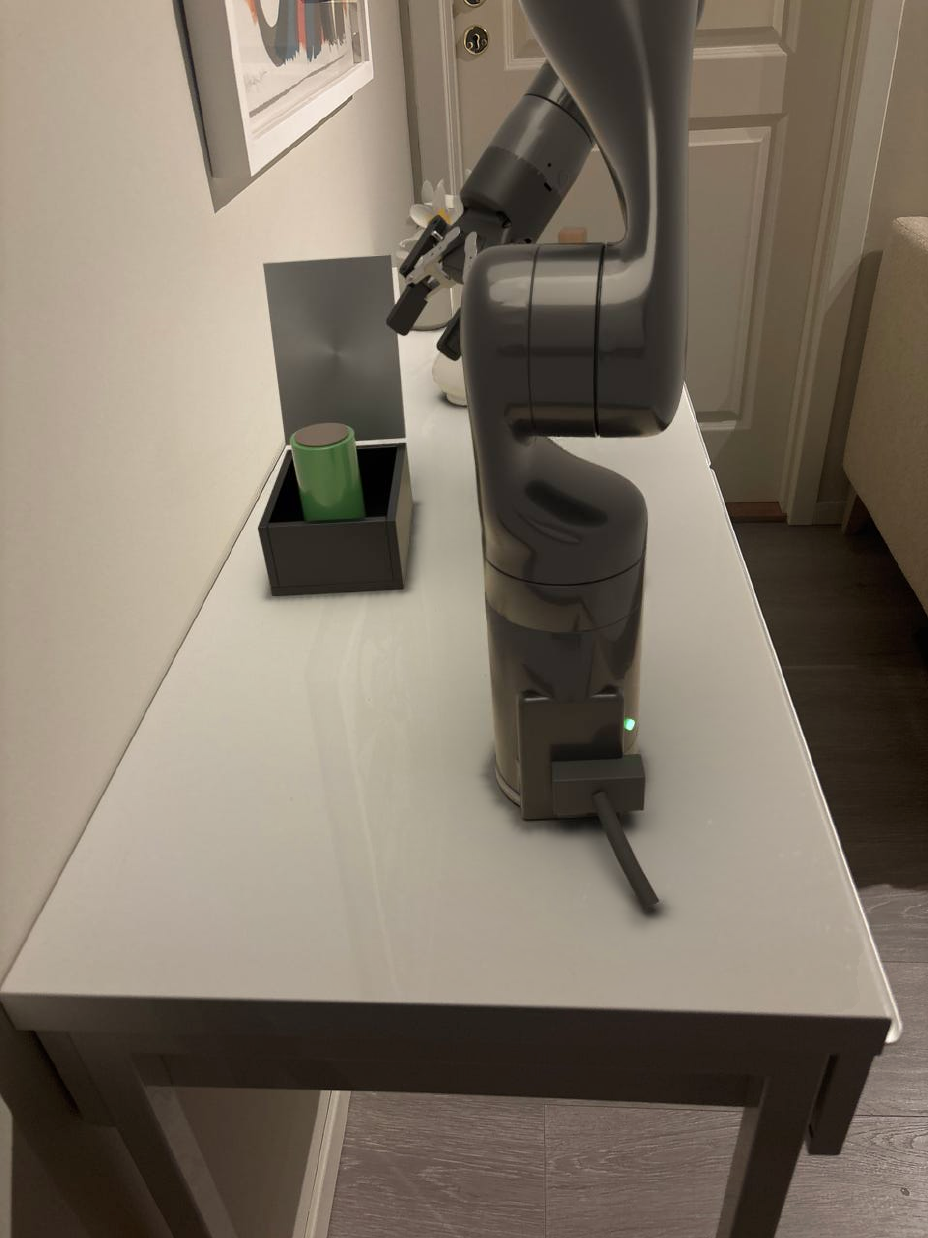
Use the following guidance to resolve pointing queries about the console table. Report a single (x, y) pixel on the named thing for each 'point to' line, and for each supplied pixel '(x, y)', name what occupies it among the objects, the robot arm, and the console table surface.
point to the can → (438, 304)
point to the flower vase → (443, 369)
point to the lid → (336, 345)
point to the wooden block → (572, 235)
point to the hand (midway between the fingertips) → (419, 342)
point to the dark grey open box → (341, 531)
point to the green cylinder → (328, 472)
